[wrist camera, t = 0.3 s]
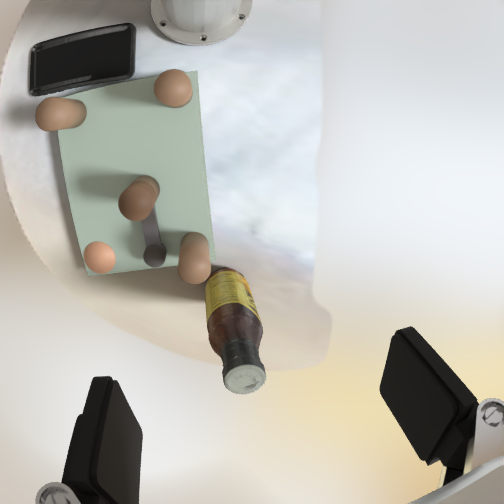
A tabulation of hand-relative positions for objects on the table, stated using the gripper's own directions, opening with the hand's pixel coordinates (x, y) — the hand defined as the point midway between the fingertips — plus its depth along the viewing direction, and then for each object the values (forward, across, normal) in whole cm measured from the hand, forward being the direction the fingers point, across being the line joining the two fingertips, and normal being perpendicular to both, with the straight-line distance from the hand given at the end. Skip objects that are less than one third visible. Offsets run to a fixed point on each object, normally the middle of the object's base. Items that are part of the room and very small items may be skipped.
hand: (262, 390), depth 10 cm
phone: (+34, +16, -20) cm, 42 cm away
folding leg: (+31, +8, +2) cm, 32 cm away
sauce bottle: (+34, 0, +14) cm, 37 cm away
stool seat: (+34, +10, -3) cm, 35 cm away
